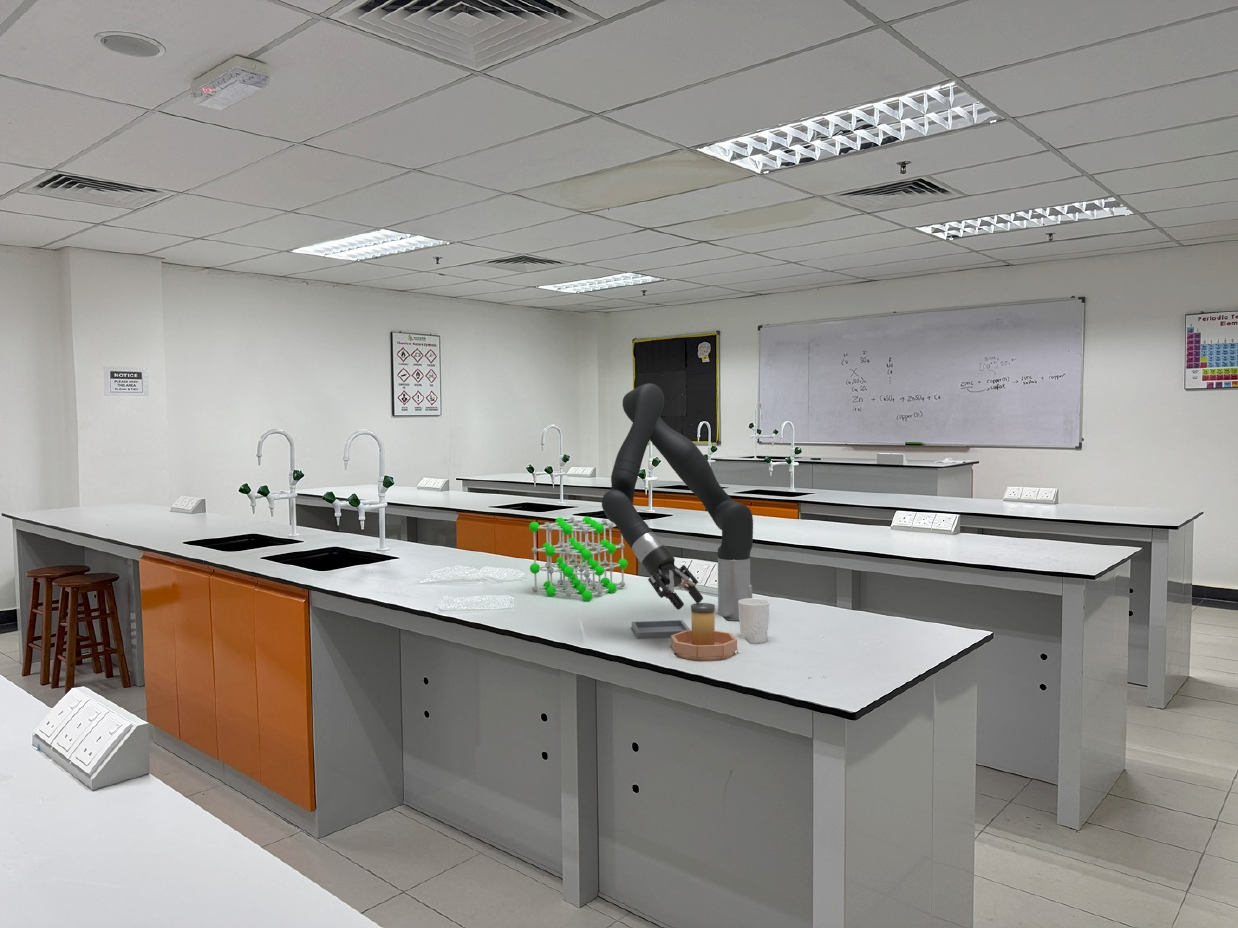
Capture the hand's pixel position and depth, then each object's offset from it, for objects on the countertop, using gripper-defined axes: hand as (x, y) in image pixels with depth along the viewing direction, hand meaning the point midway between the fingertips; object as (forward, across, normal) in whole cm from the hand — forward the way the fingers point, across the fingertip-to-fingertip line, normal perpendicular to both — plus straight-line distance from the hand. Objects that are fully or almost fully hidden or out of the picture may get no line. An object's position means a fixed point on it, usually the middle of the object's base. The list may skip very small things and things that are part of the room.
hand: (691, 604), depth 202 cm
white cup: (+14, +17, +3) cm, 22 cm away
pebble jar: (+10, 0, +5) cm, 11 cm away
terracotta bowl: (+10, 0, +5) cm, 12 cm away
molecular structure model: (-41, +37, +57) cm, 80 cm away
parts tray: (-2, +6, +18) cm, 19 cm away
